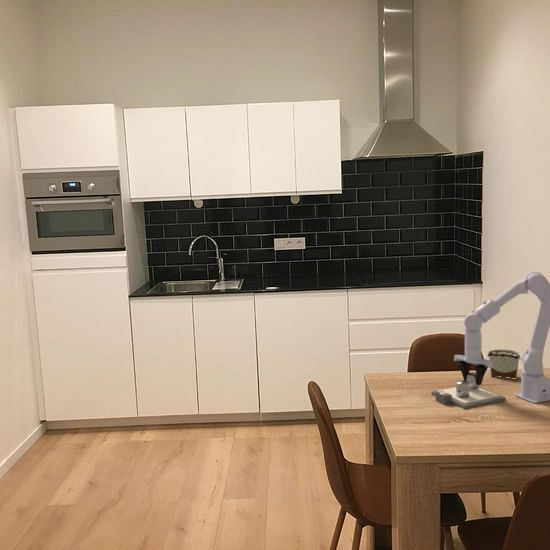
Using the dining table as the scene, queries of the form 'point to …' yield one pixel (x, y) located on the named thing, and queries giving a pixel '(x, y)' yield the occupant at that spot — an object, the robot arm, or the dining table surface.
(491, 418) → the dining table surface
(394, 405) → the dining table surface
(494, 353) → the food container
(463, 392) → the steel spacer
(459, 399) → the kitchen scale
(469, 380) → the steel spacer
